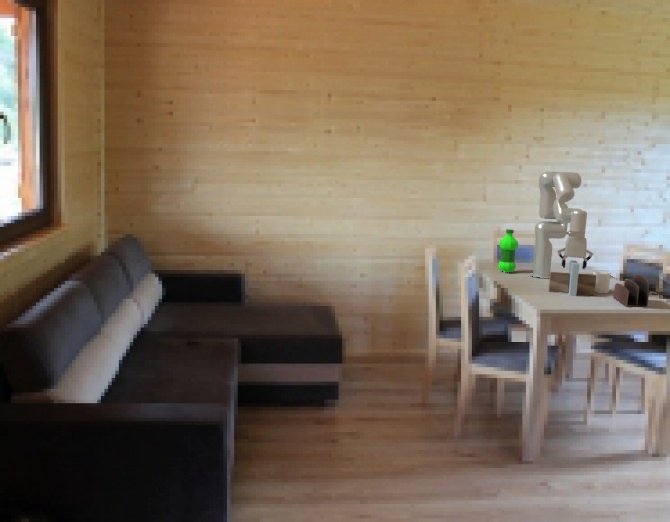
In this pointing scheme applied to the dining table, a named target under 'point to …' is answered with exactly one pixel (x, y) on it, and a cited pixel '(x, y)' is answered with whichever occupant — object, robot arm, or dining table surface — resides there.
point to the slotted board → (561, 284)
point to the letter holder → (633, 292)
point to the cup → (602, 281)
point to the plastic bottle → (508, 252)
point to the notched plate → (573, 277)
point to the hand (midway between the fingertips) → (573, 268)
